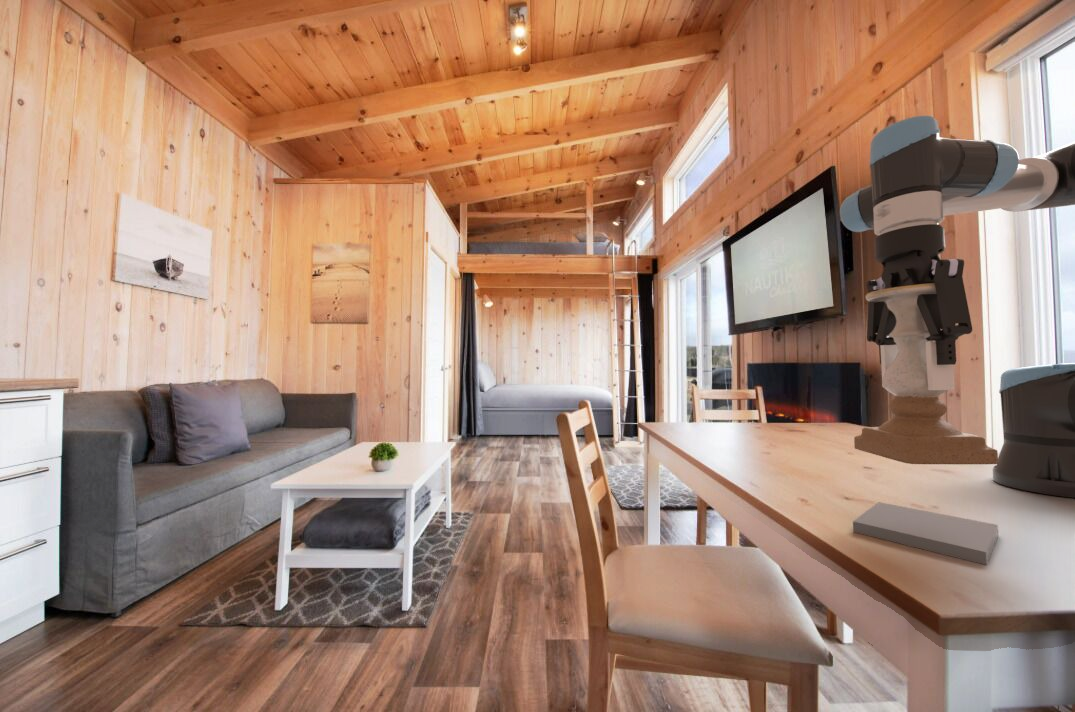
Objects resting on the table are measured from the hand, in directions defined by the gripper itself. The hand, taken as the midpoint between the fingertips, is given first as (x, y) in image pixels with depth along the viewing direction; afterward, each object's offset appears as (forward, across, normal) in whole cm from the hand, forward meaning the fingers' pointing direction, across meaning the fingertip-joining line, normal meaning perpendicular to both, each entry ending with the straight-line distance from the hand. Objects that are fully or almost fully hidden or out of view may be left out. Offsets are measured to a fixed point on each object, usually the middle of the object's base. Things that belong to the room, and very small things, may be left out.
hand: (915, 388), depth 58 cm
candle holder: (+10, 0, 0) cm, 10 cm away
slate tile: (+21, 0, 0) cm, 21 cm away
